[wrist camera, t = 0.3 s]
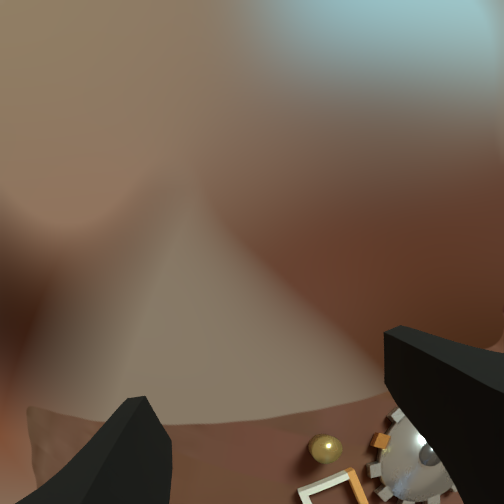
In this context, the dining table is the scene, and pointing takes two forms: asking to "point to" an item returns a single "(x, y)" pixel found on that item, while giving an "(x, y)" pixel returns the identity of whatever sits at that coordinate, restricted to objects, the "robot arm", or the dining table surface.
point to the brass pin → (325, 448)
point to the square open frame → (331, 481)
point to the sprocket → (407, 465)
